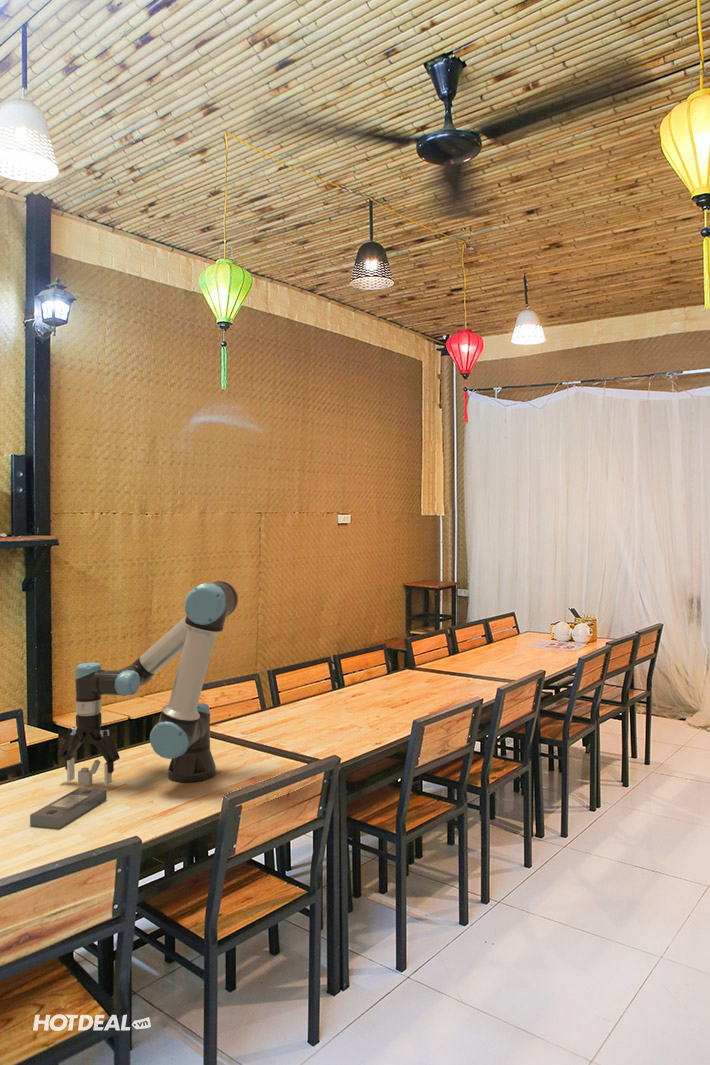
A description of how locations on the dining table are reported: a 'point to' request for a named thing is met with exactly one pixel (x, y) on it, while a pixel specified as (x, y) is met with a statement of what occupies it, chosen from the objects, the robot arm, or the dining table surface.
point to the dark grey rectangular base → (68, 808)
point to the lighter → (87, 774)
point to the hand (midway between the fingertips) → (89, 781)
